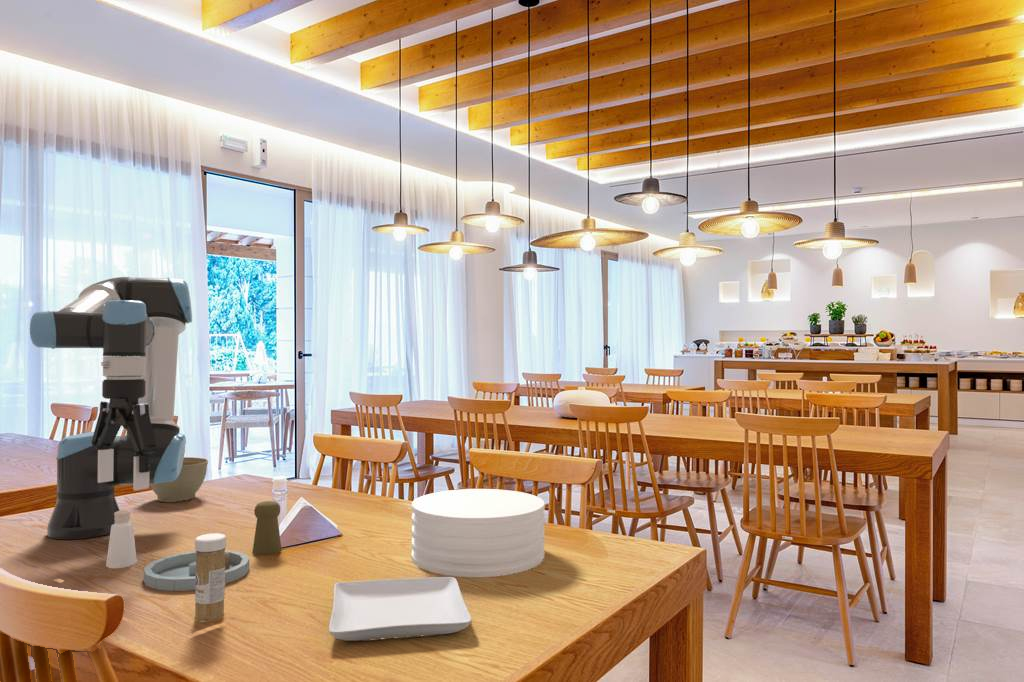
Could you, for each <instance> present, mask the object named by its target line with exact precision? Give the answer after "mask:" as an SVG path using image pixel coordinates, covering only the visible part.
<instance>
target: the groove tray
mask: <svg viewBox="0 0 1024 682" xmlns="http://www.w3.org/2000/svg"><path fill="white" fill-rule="evenodd" d="M225 552H228V553H230V569H228V570H225V585H226V584H230V583H232V582H235V581H238V580H240V579H241V578H243V577H244V576H246V575H247V574H248V572H249V570H250V557H249V556H248V555H247V553H243V552H240V551H236V550H229V549H225ZM143 582H144V583H143V584H144V585H145V586H146V587H149V588H150V589H153V590H157V591H167V592H168V591H169V592H183V591H195V586H196V550H194V551H188V552H187V551H186V552H181V553H176V554H172V555H168V556H164V557H161V558H159V559H156V560H153V561H151V562H150V563H148V564H147V565H146V566H144V568H143Z"/></svg>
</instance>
